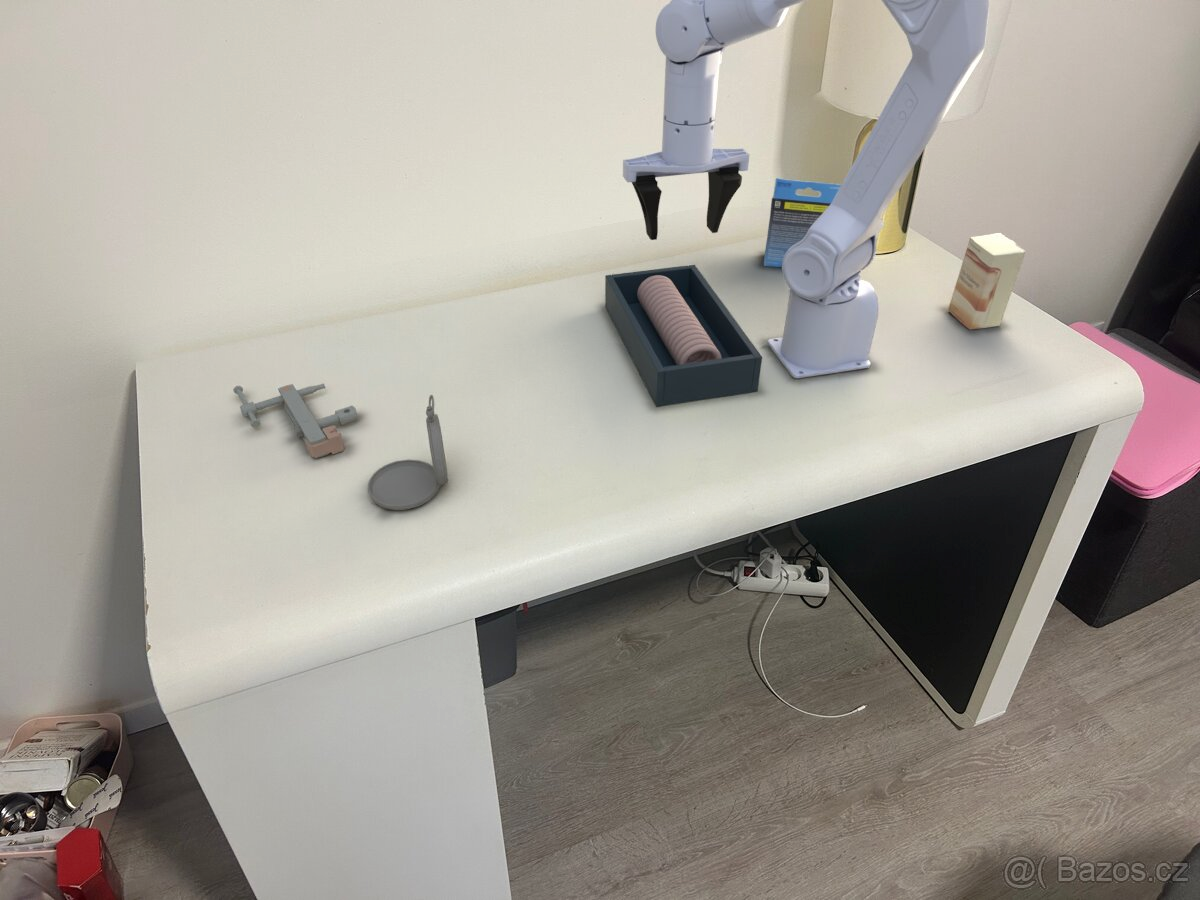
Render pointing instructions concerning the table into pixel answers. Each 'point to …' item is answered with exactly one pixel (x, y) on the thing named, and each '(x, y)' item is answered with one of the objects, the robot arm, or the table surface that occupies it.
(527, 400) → the table surface
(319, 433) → the clamp
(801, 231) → the label tape box
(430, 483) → the pocket watch
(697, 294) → the bin
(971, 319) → the printed cream carton
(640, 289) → the coil
